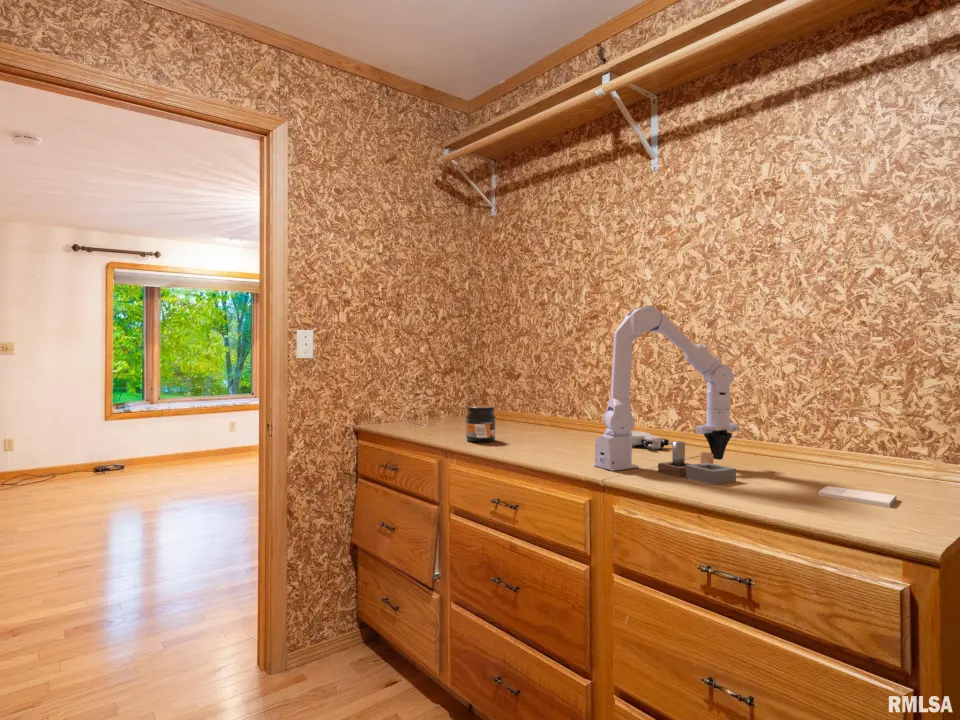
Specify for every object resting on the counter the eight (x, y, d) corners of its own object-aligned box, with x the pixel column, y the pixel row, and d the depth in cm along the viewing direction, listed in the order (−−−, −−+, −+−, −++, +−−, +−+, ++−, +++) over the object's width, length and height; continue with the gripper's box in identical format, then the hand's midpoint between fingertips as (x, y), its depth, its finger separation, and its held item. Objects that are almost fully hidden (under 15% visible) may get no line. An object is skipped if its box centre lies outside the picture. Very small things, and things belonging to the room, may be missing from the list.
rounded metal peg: (678, 474, 134) (679, 443, 134) (669, 472, 137) (669, 441, 137) (687, 473, 136) (687, 442, 136) (677, 471, 139) (678, 440, 138)
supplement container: (481, 444, 179) (481, 408, 179) (459, 440, 187) (459, 406, 187) (501, 440, 187) (502, 406, 187) (480, 437, 194) (480, 404, 194)
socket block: (679, 477, 132) (679, 468, 132) (658, 471, 138) (658, 463, 138) (699, 474, 135) (699, 465, 135) (677, 469, 141) (677, 460, 141)
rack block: (713, 484, 124) (713, 471, 124) (685, 477, 131) (685, 465, 131) (735, 481, 128) (735, 468, 128) (707, 474, 135) (707, 462, 135)
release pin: (696, 471, 138) (696, 455, 138) (687, 469, 140) (687, 453, 140) (713, 468, 141) (713, 453, 141) (704, 466, 143) (704, 451, 143)
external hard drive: (890, 510, 106) (818, 498, 115) (896, 502, 112) (827, 491, 121) (890, 502, 106) (818, 490, 115) (896, 495, 112) (827, 484, 121)
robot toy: (675, 451, 173) (639, 441, 186) (676, 438, 173) (640, 429, 185) (650, 455, 166) (614, 444, 179) (651, 441, 166) (615, 431, 179)
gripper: (712, 411, 136) (711, 463, 137) (749, 408, 143) (748, 459, 143) (690, 408, 143) (689, 459, 143) (726, 406, 149) (725, 454, 150)
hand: (717, 458), depth 143 cm, fingers closed
